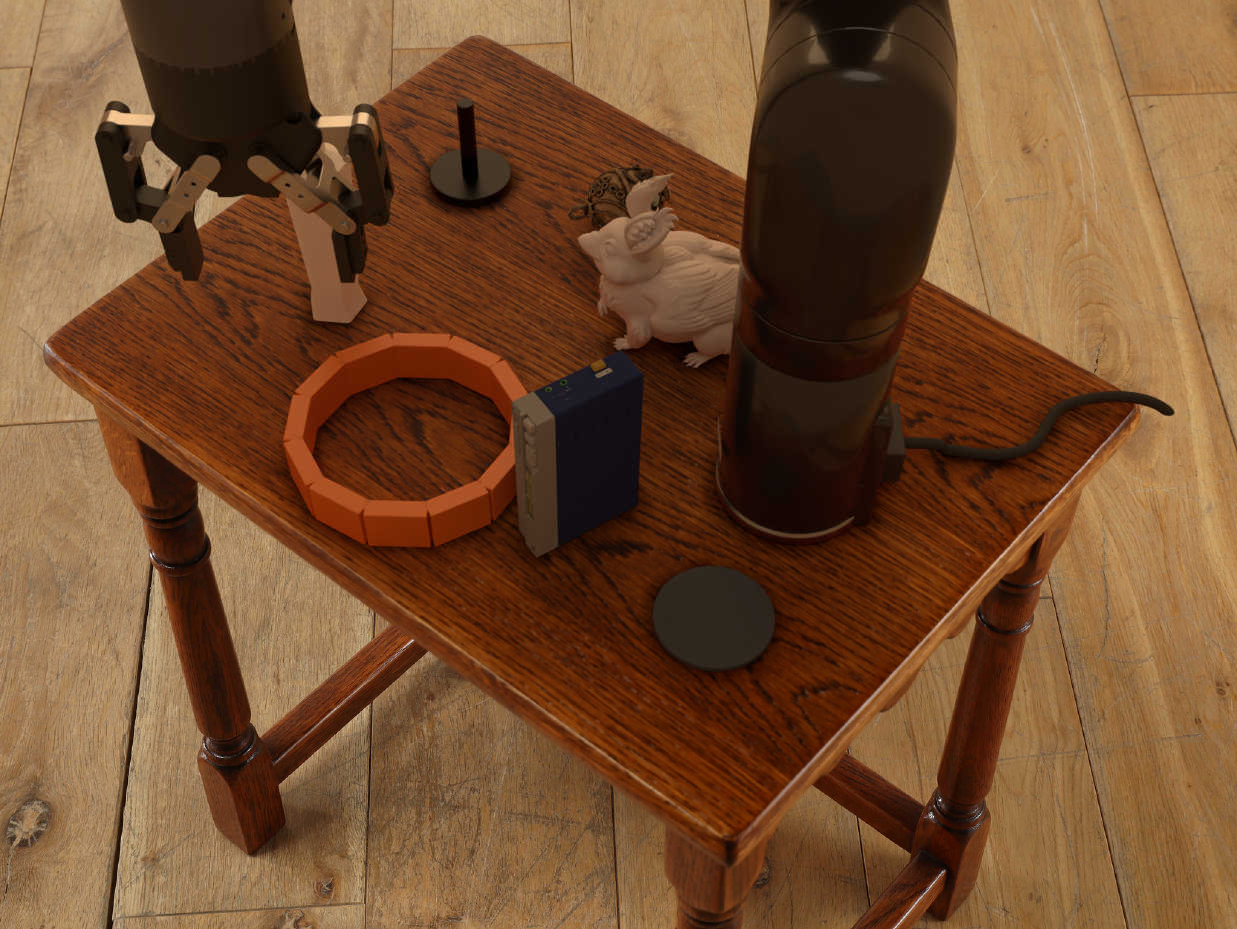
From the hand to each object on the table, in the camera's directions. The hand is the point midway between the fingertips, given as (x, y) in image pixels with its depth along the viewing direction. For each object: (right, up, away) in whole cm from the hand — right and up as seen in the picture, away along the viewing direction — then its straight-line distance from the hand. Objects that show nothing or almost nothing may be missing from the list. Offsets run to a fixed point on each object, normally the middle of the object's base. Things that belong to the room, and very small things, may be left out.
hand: (272, 271), depth 81 cm
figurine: (+24, -2, +18) cm, 30 cm away
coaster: (+24, -19, +4) cm, 31 cm away
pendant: (+19, +6, +25) cm, 32 cm away
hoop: (+6, -10, +11) cm, 16 cm away
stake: (+8, +10, +28) cm, 31 cm away
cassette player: (+17, -14, +8) cm, 23 cm away
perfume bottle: (0, 0, +20) cm, 20 cm away
